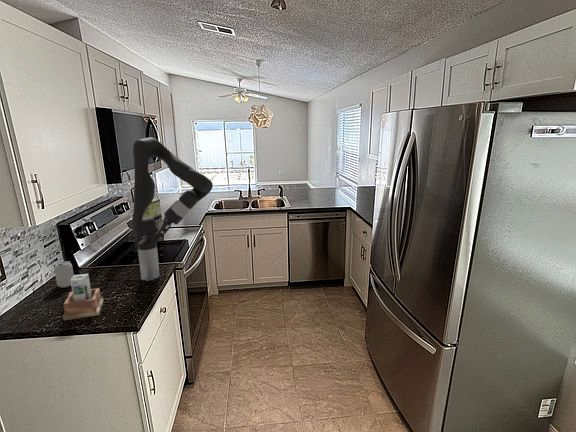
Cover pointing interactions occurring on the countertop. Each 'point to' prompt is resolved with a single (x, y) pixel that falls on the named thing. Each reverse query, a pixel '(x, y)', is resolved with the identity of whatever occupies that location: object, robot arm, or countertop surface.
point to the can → (63, 273)
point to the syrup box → (81, 287)
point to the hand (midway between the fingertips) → (152, 238)
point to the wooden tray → (83, 306)
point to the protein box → (153, 209)
